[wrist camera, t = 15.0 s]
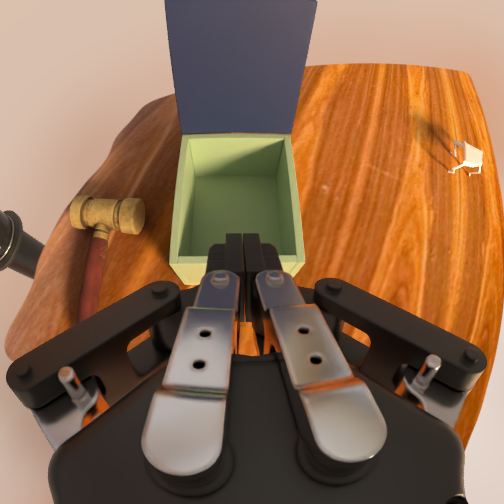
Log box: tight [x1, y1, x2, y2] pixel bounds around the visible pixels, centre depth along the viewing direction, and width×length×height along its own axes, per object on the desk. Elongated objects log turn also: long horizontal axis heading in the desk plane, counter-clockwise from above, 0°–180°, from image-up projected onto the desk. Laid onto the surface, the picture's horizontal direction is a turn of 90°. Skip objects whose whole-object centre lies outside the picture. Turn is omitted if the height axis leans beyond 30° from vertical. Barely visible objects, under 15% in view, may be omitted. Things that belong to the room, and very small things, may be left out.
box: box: [169, 134, 305, 285], centre depth 32 cm, size 16×13×9 cm
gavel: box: [70, 195, 145, 325], centre depth 31 cm, size 21×5×10 cm
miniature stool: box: [448, 141, 483, 177], centre depth 42 cm, size 12×8×5 cm
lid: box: [165, 0, 317, 134], centre depth 23 cm, size 17×13×1 cm
